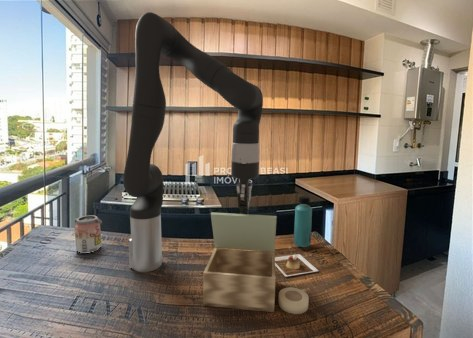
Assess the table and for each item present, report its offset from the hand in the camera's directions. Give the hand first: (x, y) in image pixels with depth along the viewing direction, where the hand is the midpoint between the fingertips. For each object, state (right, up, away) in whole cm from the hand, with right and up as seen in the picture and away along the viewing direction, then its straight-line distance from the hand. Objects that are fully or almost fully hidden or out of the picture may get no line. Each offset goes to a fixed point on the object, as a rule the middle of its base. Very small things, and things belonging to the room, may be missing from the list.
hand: (243, 220), depth 76 cm
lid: (0, -4, +1) cm, 4 cm away
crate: (-1, -20, -1) cm, 20 cm away
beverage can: (-56, -15, +24) cm, 63 cm away
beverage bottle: (+23, -16, +28) cm, 40 cm away
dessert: (+17, -19, +14) cm, 29 cm away
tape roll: (+13, -21, -5) cm, 25 cm away
